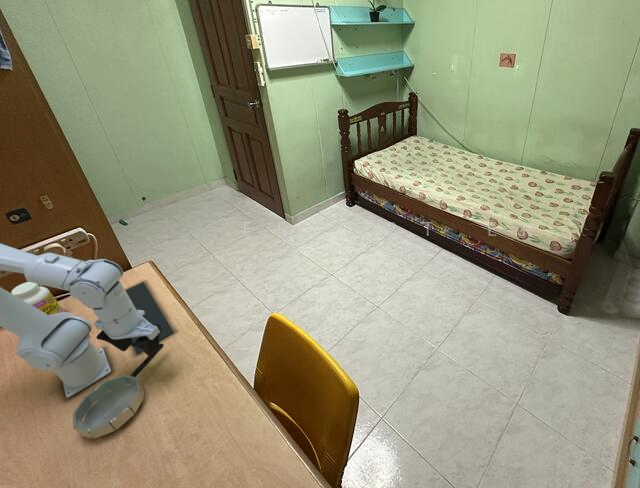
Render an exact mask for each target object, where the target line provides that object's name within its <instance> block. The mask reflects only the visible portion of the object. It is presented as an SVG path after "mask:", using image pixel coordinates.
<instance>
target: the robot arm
mask: <svg viewBox="0 0 640 488" xmlns="http://www.w3.org/2000/svg"><path fill="white" fill-rule="evenodd" d="M0 271H5V272H12V273H16V274H17V273H18V274H23V275H24V277H25V280H26V282H32V283H36V284H38V285H41V286H44V287H50V288H55V289H58V290H63V291H67V292H68V294H69V295H70V296H71V297H72V298H74V299H75V300H77V301H79V302H81V303H83V305H84V307H87V309H91V310H92V312H93V313H94V315H95V316H96V318H97V320H95V321H94V322H93V325H92V323H91V322H90V321H89V320H88V319H86V318H84V317H82V316H78V315H75V314H73V313H71V312H68V311H64V312H61V313H57V314H53V315H47V314H46V313H44V312H42V311H40V310H39V309H37V308H35V307H33V306H32V305H30V304H28V303H27V302H25V301H23V300H21V299H20V298H18V297H16V296H15V295H13V294H11V292H9V291H8V290H6V289H4V288H3V287H1V286H0V328H3V329H4V330H6V331H8V332H10V333H12V334H14V335H15V336H17V337H19V339H18V343H17V348H16V352H15V354H16V356H18V357H19V358H21V359H22V360H24V361H25V362H26V363H27V365H28V366H30V367H32V368H33V369H36V370H41V371H52V372H53V373H54V374H55V375H56V377H58V378H59V379H60V381H62V384H63V390H64V393H65V397H66V398H70V397H72V396H74V395H76V394H78V393H79V392H80V391H82V390H84V389H86V388H87V387H89V386H91V385H92V384H94V383H95V382H97V381H99V380H101V379H102V378H104V377H105V376H108V375H109V374H111V372H112V369H111V367H110V364H109V361H108V359H107V356H106V353H105V350H104V348H103V347H100V348H99V349H97V348H96V347H95V345H94V344H93V343H92V342H91V340H90V339H91V338H92V335H91V334H90V333H91V332H92V330H93V326H94V327H95V328H96V329H97V330H101V331H100V332H98V334H97V335H96V336H95V338H96V339H97V340H100V341H104V342H106V343H108V344H110V345H112V346H114V347H115V348H116V349H118V350H120V351H121V352H126V351H127V350H128V349H129V348H130V347H133V348H134V347H137V348H140V349H141V350H143V351H142V352H143V353H144V354H145V355H146V356H147V357H148V356H149V357H154V356H155V357H156V355H157V354H159V352H160V351H161V350H160V345H159V344H160V341H159V337H160V333H161V330H162V326H161V325H157V324H155V325H154V326H153V325H152V324H150V323H149V322H148V321H147V320H146V319H145V318H144V317H142V316H143V315H144V314H145V312H144V311H143V310H136V308H135V306H134V305H133V303H132V301H131V299H130V298H129V296H128V294H127V293H126V291H125V290H126V289H125V288H124V285H123V284H122V282H121V280H120V279H121V278H122V277H123V275H124V270H123V268H122V267H121V266H120V265H119V264H118V263H116V262H114V261H111V260H108V259H106V258H100V259H87V260H86V261H85V260H81V259H79V258H74V257H70V256H66V255H62V254H57V253H54V252H45V253H43V254H39V255H36V254H33V253H30V252H27V251H24V250H21V249H18V248H15V247H12V246H9V245H6V244H3V243H0ZM139 336H140V337H139ZM132 337H139V338H138V339H137V340H136V341H135V342H134V343H133V344H132V339H131V338H132ZM159 350H160V351H159ZM158 351H159V352H158ZM155 357H154V358H155Z"/></svg>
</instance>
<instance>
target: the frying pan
mask: <svg viewBox="0 0 640 488" xmlns="http://www.w3.org/2000/svg"><path fill="white" fill-rule="evenodd" d="M159 345H160V350H159V351H158V353H160V351H161V350H162V349H163V348H164V347H165V345H164V343H159ZM155 357H156V355H155V356H154V357H149V356H148V355H147V357H146V358H145V359H144V360H143V361H142V362H141V363H140V364H139V365H138V366H137V367H136V369H134V371H133V372H131V374H130V375H128V374H121V375H119V376H115V377H112V378H110V379H107V380H105V381H103V382H101V383H100V384H99V385H98V386H96V387H95V388H93V389H92V390H91V391H90V392H88V393H87V394H85V395H84V396H83V398H82V399H81V401H80V403H79V404H78V405H77V406H76V408H75V409H74V411H73V412H72V428H73V429H74V430H75V431H76V433H78V434H79V435H80V436H82V437H86V438H89V439H93V440H95V439H99V438H100V437H103V436H106V435H108V434H111V433H113V432H116V430H119V429H120V428H121V427H122V426H123V425H124V424H126V422H127V421H129V420H130V419H131V418H132V417H134V416H135V414H136V413H137V411H138V410H139V407H140V405H142V403H143V400H144V399H145V393H144V387H143V384H142V383H141V382H140V380H139V379H138V377H137V376H139V374H140V373H141V372H142V371H143V370H144V369H145V368H146V367H147V366H148V364H150V362H151V361H152V360H153V359H154V358H155Z"/></svg>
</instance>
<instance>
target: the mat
mask: <svg viewBox="0 0 640 488" xmlns="http://www.w3.org/2000/svg"><path fill="white" fill-rule="evenodd" d="M125 291H126V293H127V294H128V296H129V298H130V299H131V301H132V303H133V305H134V306H135V308H136V310H143V311H144V312H145V314H144V315H143V316H142V317H144V318H145V319H146V320H147V321H148V322H149V323H150V324H152V325H153V326H154V325H155V324H157V325H161V326H162V330H161V333H160V337H159V342H160V341H163V340H164V339H166V338H167V337H169V336H171V335H173V334H174V333H175V332H174V330H173V328H172V327H171V326H170V323H169V322H168V321H167V319H166V317H165V315H164V313H163V312H162V310H161V308H160V307H159V305H158V304H157V302H156V299H154V297H153V295H152V293H151V292H150V290H149V288H148V287H147V285H146V284H145V282H144V281H142V282H140V283H138V284H135V285H133V286H131V287H129V288H127V289H125ZM139 337H140V336H139ZM139 337H132V338H131V339H132V344H133V343H134V342H135V341H136V340H137V339H138V338H139ZM133 349H134V352H135V353H136V355H139V354H141V353H142V352H144V351H143V350H141V349H140V348H137V347H133Z"/></svg>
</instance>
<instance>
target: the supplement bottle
mask: <svg viewBox="0 0 640 488" xmlns="http://www.w3.org/2000/svg"><path fill="white" fill-rule="evenodd" d="M10 293H11V294H13V295H15V296H16V297H18V298H20V299H21V300H23V301H25V302H27V303H28V304H30V305H32V306H33V307H35V308H37V309H39V310H40V311H42V312H44V313H46V314H47V315H53V314H57V313H61V312H65V310H64V309H63V308H62V306H61V305H60V303H59V301H57V299H56V298H55V297H54V295H53V293H52V292H51V291H50V290H49V288H47V287H46V286H40V284H36V283H32V282H28V281H26V282H23V283H21V284H18V285H17V286H15V287H14V288H13V289H12V290H11V292H10Z"/></svg>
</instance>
